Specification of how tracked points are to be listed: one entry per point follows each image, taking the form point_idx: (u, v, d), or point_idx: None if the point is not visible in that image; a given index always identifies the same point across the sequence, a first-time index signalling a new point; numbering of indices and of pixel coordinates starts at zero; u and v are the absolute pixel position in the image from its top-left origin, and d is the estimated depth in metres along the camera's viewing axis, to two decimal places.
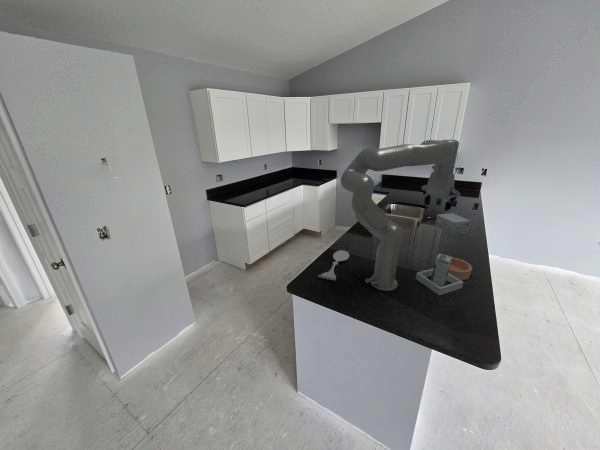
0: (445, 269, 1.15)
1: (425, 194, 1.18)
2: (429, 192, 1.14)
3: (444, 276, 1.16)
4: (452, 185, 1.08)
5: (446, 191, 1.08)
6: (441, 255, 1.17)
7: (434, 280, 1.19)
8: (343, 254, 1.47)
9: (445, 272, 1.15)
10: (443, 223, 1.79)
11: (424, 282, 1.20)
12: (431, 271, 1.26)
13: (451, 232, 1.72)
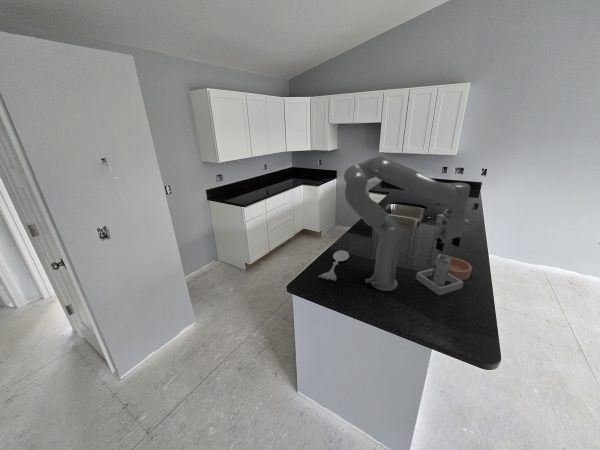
0: (445, 269, 1.14)
1: (442, 241, 1.09)
2: (450, 237, 1.08)
3: (444, 276, 1.16)
4: None
5: (463, 230, 1.10)
6: (441, 255, 1.17)
7: (434, 280, 1.19)
8: (343, 254, 1.47)
9: (445, 272, 1.15)
10: None
11: (424, 282, 1.20)
12: (431, 271, 1.26)
13: None
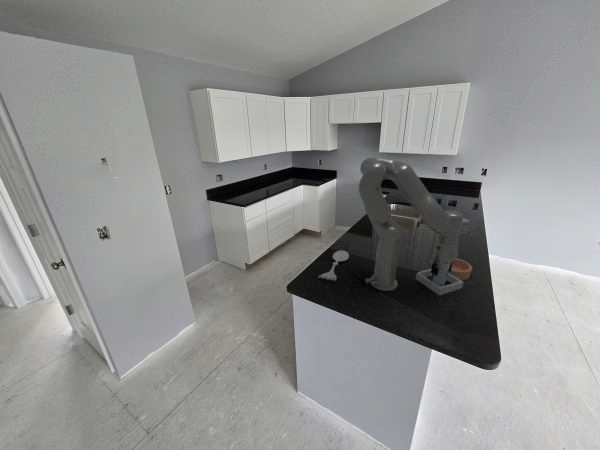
0: (445, 269, 1.14)
1: (436, 266, 1.14)
2: (443, 262, 1.13)
3: (444, 276, 1.16)
4: None
5: (456, 255, 1.15)
6: None
7: (434, 280, 1.19)
8: (343, 254, 1.47)
9: (445, 272, 1.15)
10: None
11: (424, 282, 1.20)
12: None
13: None
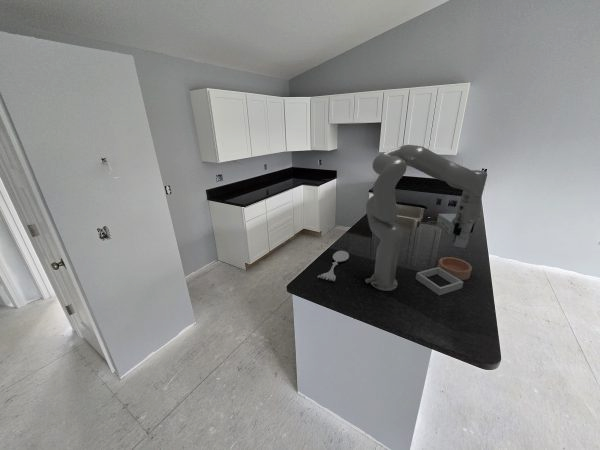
0: (468, 229, 1.17)
1: (459, 226, 1.17)
2: (466, 222, 1.16)
3: (467, 236, 1.18)
4: None
5: (478, 215, 1.17)
6: None
7: (457, 241, 1.22)
8: (343, 255, 1.46)
9: (468, 232, 1.18)
10: (442, 223, 1.80)
11: (424, 282, 1.20)
12: (431, 271, 1.26)
13: (447, 231, 1.73)
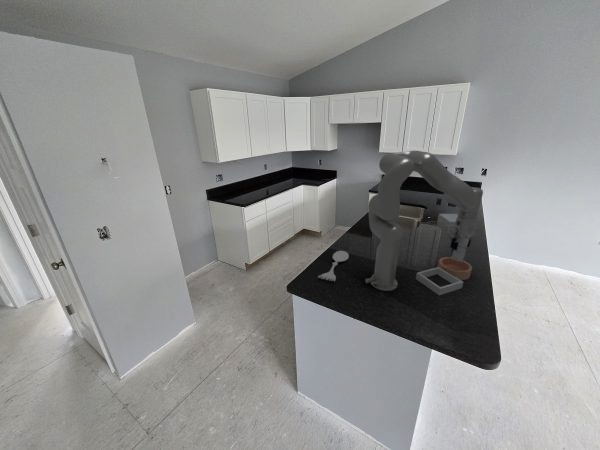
0: (465, 243, 1.20)
1: (456, 240, 1.20)
2: (463, 237, 1.19)
3: (463, 250, 1.22)
4: None
5: (475, 230, 1.21)
6: None
7: (454, 255, 1.25)
8: (342, 255, 1.46)
9: (465, 246, 1.21)
10: (442, 222, 1.80)
11: (424, 282, 1.20)
12: (431, 271, 1.26)
13: (447, 231, 1.74)
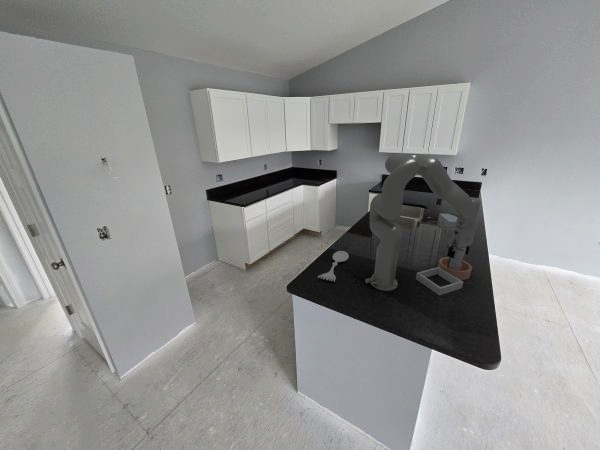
0: (460, 256, 1.23)
1: (453, 249, 1.22)
2: (461, 246, 1.21)
3: (459, 263, 1.24)
4: None
5: (472, 239, 1.22)
6: None
7: (450, 267, 1.28)
8: (342, 255, 1.46)
9: (460, 259, 1.23)
10: (441, 222, 1.81)
11: (424, 282, 1.20)
12: (431, 271, 1.26)
13: (445, 231, 1.74)
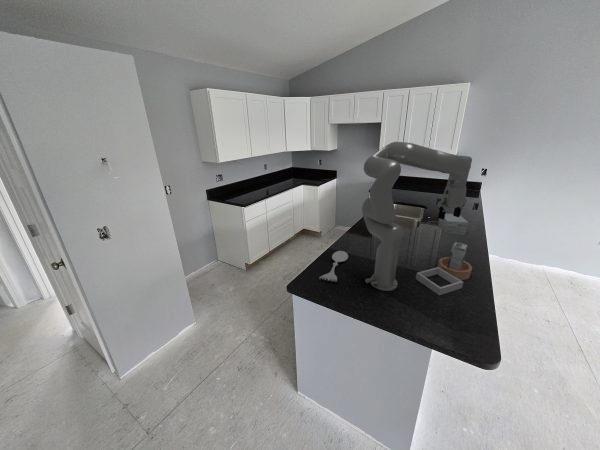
0: (461, 256, 1.23)
1: (444, 209, 1.19)
2: (451, 206, 1.18)
3: (460, 263, 1.24)
4: None
5: (464, 200, 1.20)
6: (457, 243, 1.26)
7: (450, 267, 1.28)
8: (342, 255, 1.46)
9: (461, 259, 1.23)
10: (441, 222, 1.81)
11: (424, 282, 1.20)
12: (431, 271, 1.26)
13: (444, 231, 1.75)
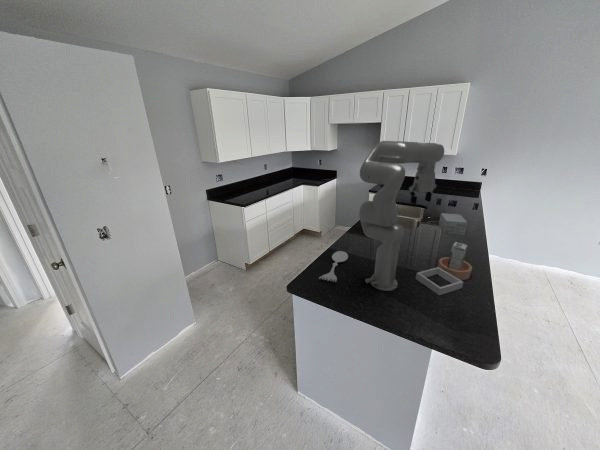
0: (461, 256, 1.23)
1: (415, 194, 1.27)
2: (422, 191, 1.26)
3: (460, 263, 1.24)
4: None
5: (433, 185, 1.27)
6: (457, 243, 1.26)
7: (450, 267, 1.28)
8: (342, 255, 1.46)
9: (461, 259, 1.23)
10: (441, 222, 1.82)
11: (424, 282, 1.20)
12: (431, 271, 1.26)
13: (443, 230, 1.75)
